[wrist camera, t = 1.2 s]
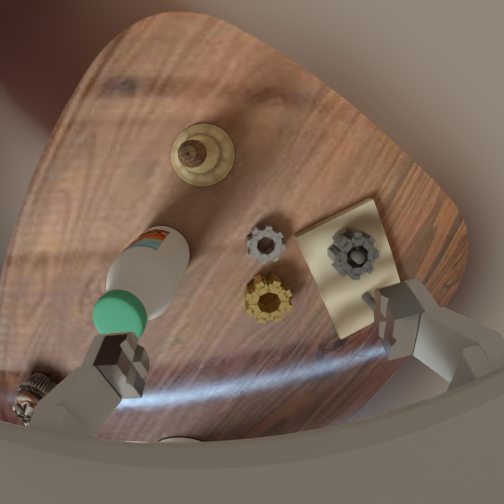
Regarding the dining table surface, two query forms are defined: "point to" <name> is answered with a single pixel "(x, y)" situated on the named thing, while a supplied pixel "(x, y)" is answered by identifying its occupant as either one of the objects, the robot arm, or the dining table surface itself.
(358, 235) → the steel gear
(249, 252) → the zinc gear
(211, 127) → the hand bell
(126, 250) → the milk bottle
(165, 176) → the dining table surface
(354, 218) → the gear board
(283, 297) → the brass gear
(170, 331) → the dining table surface
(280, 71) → the dining table surface
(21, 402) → the cupcake
